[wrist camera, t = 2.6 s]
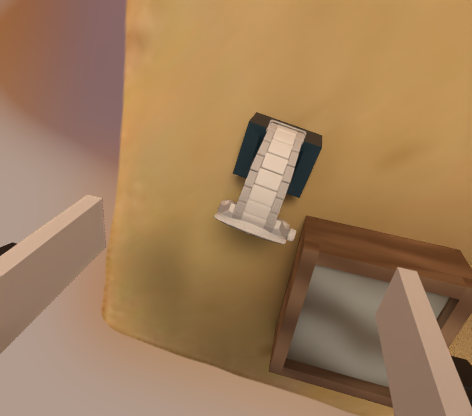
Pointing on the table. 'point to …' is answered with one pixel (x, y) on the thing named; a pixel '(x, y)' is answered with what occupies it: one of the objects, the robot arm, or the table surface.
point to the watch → (270, 176)
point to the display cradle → (358, 304)
